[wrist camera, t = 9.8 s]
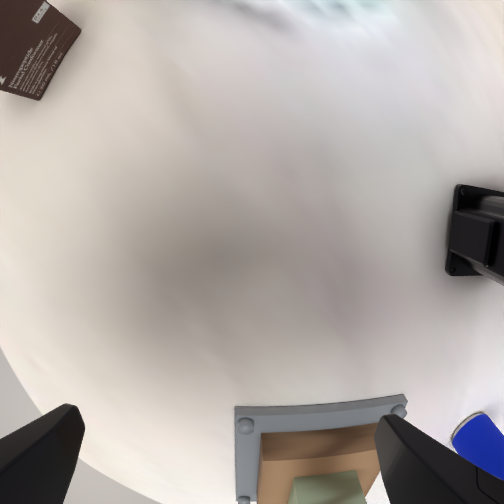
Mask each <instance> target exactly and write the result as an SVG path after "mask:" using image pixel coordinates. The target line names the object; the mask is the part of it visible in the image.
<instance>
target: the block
mask: <svg viewBox="0 0 504 504" xmlns="http://www.w3.org/2000/svg"><path fill="white" fill-rule="evenodd" d="M288 504H367V502H366V499H365V496H364V493H363V490H362V487H361V484H360V481H359V478H358V475H357V472H356V470H350V471H344V472H337V473H330V474H322V475H312V476H301V477H294V479H293V483H292V488H291V492H290V496H289V500H288Z"/></svg>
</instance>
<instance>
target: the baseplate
mask: <svg viewBox="0 0 504 504" xmlns="http://www.w3.org/2000/svg"><path fill="white" fill-rule="evenodd" d="M407 402H408V401H407V399H406V398H405V396H404V395H403V394H402V395H396V396H390V397H383V398H376V399H369V400H361V401H353V402H343V403H333V404H321V405H305V406H283V407H235V463H236V501H238V504H250V501H257V481H258V468H259V454H260V440H261V433H271V432H296V431H311V430H323V429H333V428H342V427H350V426H358V425H365V424H371V423H377V422H379V420H380V418H381V416H382V415H386V414H392V413H394V414H397V415H398V416H400V417H401V418H404V417H405V416H406V415H407V411H406V410H405V407H406V404H407Z"/></svg>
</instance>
